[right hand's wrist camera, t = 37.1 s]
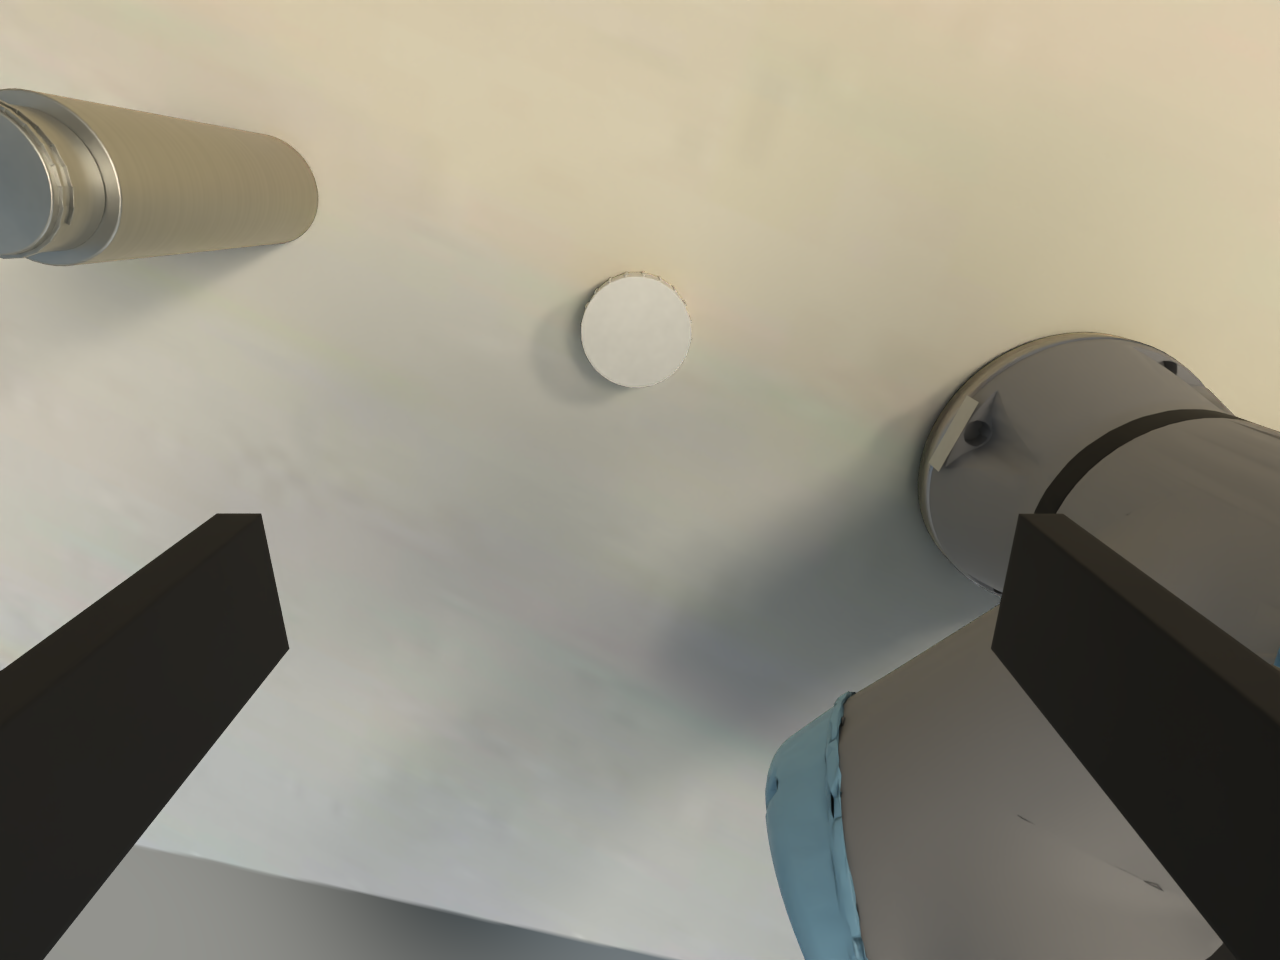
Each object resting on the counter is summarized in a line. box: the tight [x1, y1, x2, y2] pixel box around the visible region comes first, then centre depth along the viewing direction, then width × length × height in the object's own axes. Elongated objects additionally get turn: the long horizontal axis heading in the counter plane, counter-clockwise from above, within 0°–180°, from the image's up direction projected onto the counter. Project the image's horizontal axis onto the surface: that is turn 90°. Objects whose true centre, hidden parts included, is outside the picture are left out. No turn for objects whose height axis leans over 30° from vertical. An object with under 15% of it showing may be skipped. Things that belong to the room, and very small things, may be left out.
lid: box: [580, 271, 692, 388], centre depth 36 cm, size 6×6×2 cm
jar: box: [0, 89, 318, 266], centre depth 27 cm, size 5×5×16 cm
